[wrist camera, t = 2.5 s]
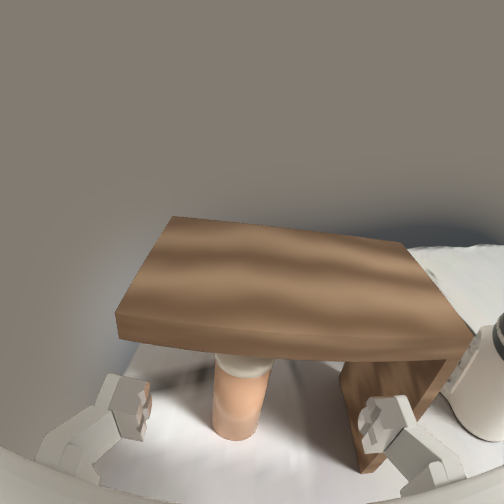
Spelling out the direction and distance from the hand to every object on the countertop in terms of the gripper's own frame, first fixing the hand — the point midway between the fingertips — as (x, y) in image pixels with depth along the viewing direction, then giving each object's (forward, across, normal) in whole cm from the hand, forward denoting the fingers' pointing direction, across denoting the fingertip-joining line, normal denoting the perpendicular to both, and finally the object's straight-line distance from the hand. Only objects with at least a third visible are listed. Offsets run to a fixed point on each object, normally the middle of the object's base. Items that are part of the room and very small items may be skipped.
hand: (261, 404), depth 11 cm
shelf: (+14, -4, +22) cm, 26 cm away
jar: (+13, 0, +22) cm, 26 cm away
